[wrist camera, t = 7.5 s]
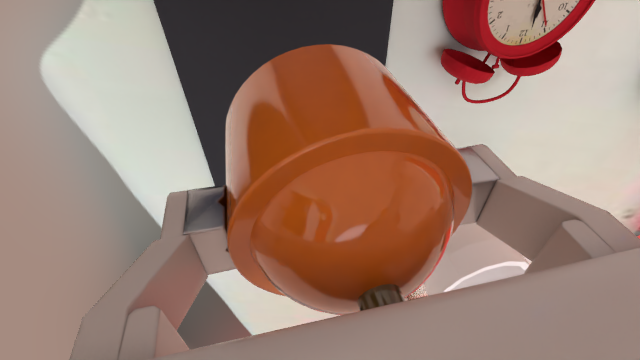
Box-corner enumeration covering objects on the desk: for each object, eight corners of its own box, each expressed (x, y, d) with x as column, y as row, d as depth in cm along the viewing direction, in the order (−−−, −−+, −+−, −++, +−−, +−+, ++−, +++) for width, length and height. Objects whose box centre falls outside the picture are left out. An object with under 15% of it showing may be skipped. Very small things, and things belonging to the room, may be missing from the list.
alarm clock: (674, -151, 18) (585, 111, 26) (576, -119, 23) (527, 90, 31) (502, -139, 17) (463, 132, 25) (440, -108, 22) (424, 107, 30)
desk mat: (142, -39, 19) (140, -38, 19) (397, -55, 22) (400, -54, 21) (219, 195, 33) (219, 198, 33) (370, 171, 35) (372, 173, 35)
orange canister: (203, 54, 9) (179, 302, 4) (418, 34, 10) (637, 209, 5) (242, 208, 13) (257, 425, 8) (390, 184, 14) (488, 363, 9)
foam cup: (421, 225, 44) (472, 318, 35) (370, 209, 40) (414, 312, 31) (474, 176, 40) (550, 269, 31) (423, 152, 35) (495, 252, 26)
